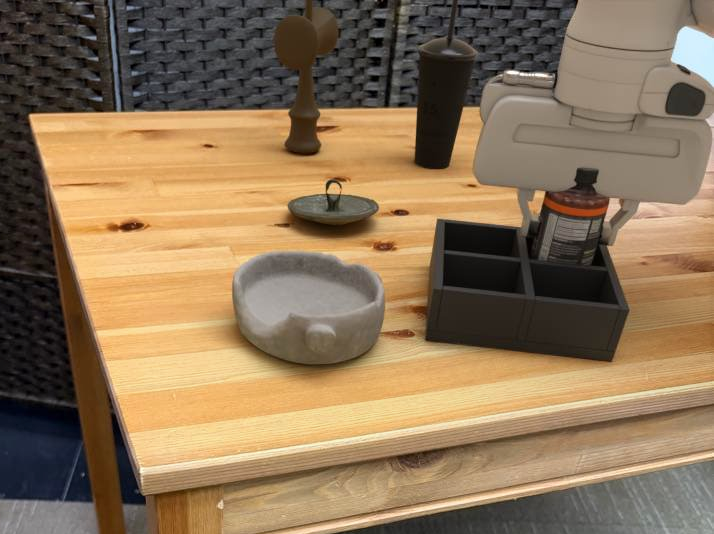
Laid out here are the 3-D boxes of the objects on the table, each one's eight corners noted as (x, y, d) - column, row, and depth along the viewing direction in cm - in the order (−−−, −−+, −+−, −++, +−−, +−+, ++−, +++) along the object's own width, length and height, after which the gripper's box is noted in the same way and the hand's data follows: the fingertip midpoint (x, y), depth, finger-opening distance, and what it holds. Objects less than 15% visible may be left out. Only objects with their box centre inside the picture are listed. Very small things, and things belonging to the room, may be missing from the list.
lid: (333, 257, 90) (348, 216, 86) (267, 211, 92) (278, 169, 89) (384, 235, 97) (399, 195, 93) (321, 192, 99) (333, 152, 96)
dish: (339, 387, 67) (344, 332, 64) (200, 340, 72) (198, 286, 68) (410, 320, 77) (417, 269, 73) (283, 282, 81) (285, 233, 78)
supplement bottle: (533, 262, 84) (561, 146, 77) (590, 276, 82) (625, 158, 75) (518, 284, 80) (546, 163, 72) (578, 298, 78) (614, 176, 71)
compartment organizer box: (589, 282, 85) (603, 235, 82) (612, 361, 73) (629, 309, 69) (429, 265, 86) (437, 218, 83) (425, 340, 74) (433, 288, 71)
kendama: (269, 156, 110) (273, -21, 97) (294, 137, 117) (301, -30, 104) (311, 163, 109) (320, -15, 96) (334, 144, 116) (345, -25, 103)
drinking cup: (411, 151, 116) (433, -18, 102) (464, 159, 114) (493, -11, 101) (397, 166, 110) (419, -10, 97) (453, 175, 108) (482, -3, 95)
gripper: (487, 76, 68) (458, 240, 77) (739, 99, 66) (679, 263, 75) (485, 59, 72) (458, 216, 81) (721, 80, 71) (666, 237, 80)
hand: (566, 239), depth 78 cm, fingers closed on supplement bottle, 6 cm apart
